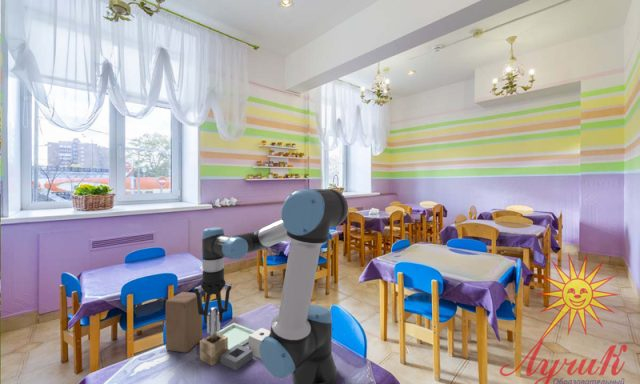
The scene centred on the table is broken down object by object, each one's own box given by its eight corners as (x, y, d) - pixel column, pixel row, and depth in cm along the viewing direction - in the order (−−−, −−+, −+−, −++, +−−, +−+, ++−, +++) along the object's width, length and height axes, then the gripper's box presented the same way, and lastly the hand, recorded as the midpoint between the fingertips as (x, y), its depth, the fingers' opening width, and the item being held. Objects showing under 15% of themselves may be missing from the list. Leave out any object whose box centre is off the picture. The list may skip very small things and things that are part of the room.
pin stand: (252, 358, 100) (252, 350, 100) (235, 370, 94) (235, 362, 94) (237, 351, 105) (237, 344, 105) (220, 363, 98) (220, 355, 98)
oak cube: (227, 355, 102) (227, 337, 102) (212, 365, 96) (211, 346, 96) (215, 349, 106) (215, 332, 106) (199, 359, 100) (199, 340, 100)
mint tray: (257, 335, 116) (257, 331, 116) (229, 353, 103) (229, 349, 103) (233, 326, 124) (233, 322, 124) (205, 342, 111) (205, 338, 111)
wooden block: (187, 354, 103) (186, 302, 103) (164, 350, 105) (164, 300, 105) (203, 339, 113) (203, 292, 113) (182, 337, 115) (182, 290, 115)
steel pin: (219, 349, 102) (219, 307, 101) (213, 353, 99) (212, 310, 99) (214, 347, 103) (214, 306, 103) (208, 351, 101) (207, 309, 100)
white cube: (274, 349, 106) (274, 332, 106) (262, 359, 100) (262, 340, 100) (261, 344, 110) (261, 327, 109) (248, 353, 104) (248, 335, 103)
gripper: (236, 264, 106) (236, 323, 107) (192, 267, 102) (193, 328, 103) (234, 270, 99) (234, 333, 99) (188, 273, 95) (188, 339, 95)
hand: (213, 330), depth 101 cm, fingers closed on steel pin, 3 cm apart
